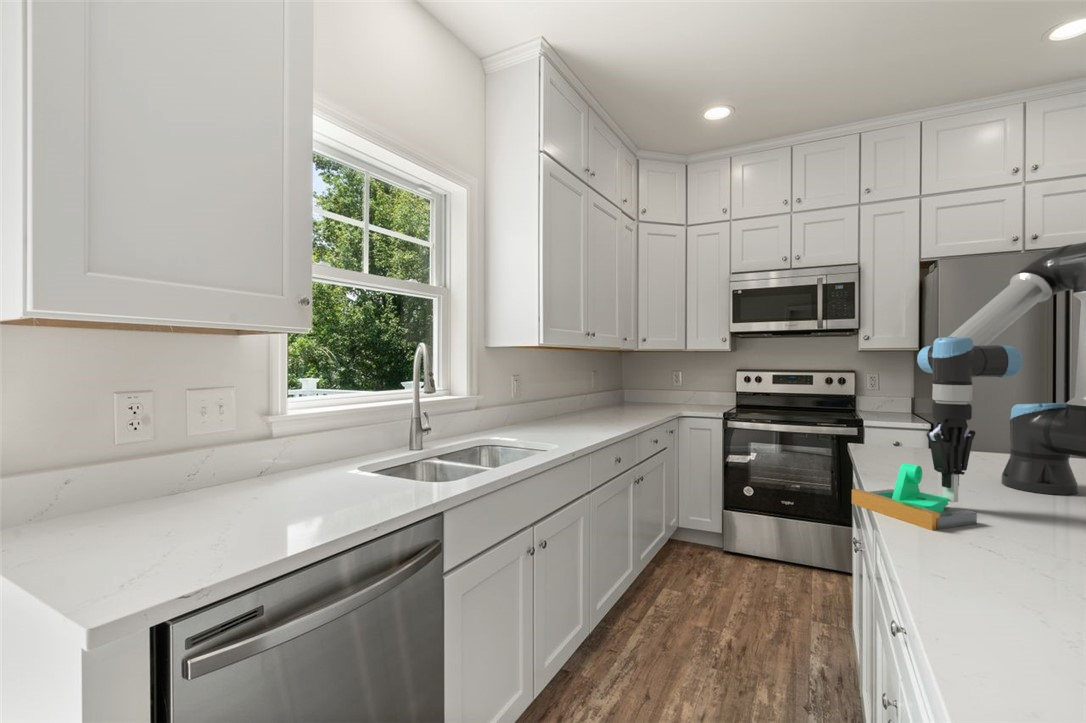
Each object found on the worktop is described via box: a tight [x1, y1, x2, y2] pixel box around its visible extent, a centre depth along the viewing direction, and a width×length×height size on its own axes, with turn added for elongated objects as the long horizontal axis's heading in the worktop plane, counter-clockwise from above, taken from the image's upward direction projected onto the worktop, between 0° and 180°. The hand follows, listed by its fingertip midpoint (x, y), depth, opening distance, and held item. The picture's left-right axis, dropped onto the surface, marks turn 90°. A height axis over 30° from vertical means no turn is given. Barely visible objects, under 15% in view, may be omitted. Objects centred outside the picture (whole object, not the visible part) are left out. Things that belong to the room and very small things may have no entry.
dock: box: [851, 488, 978, 531], centre depth 123 cm, size 13×20×4 cm, turn 17°
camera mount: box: [892, 463, 949, 513], centre depth 126 cm, size 12×8×10 cm, turn 125°
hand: (950, 500), depth 127 cm, fingers closed
